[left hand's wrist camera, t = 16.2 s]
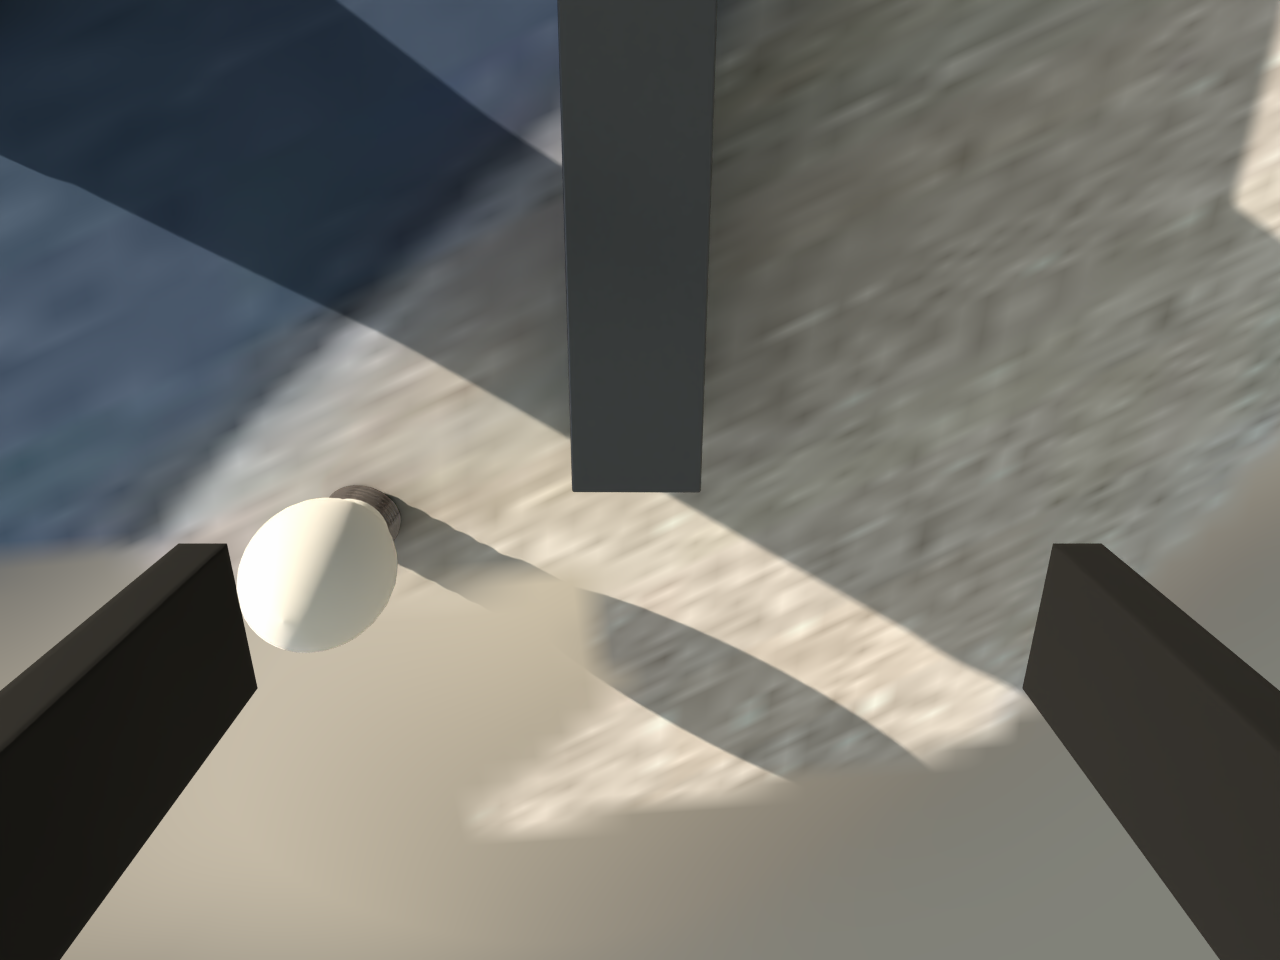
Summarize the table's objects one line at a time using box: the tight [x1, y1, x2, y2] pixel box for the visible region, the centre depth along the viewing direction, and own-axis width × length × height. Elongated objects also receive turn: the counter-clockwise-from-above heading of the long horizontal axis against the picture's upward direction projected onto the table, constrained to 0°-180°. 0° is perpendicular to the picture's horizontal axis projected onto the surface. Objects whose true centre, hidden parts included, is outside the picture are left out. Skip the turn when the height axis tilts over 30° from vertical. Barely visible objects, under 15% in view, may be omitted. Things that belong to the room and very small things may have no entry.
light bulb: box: [237, 485, 401, 653], centre depth 39 cm, size 7×7×11 cm
